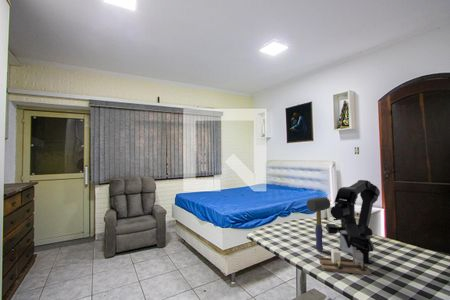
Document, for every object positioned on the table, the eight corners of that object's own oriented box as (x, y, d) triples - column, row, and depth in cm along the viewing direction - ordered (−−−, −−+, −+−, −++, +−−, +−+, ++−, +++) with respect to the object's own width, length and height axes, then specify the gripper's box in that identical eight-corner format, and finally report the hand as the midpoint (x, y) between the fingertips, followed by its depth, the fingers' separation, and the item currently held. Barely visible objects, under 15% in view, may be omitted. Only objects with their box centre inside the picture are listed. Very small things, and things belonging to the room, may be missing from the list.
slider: (331, 260, 108) (331, 248, 108) (337, 260, 108) (337, 248, 108) (335, 267, 102) (335, 254, 102) (342, 268, 101) (342, 255, 101)
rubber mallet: (316, 255, 116) (315, 199, 116) (306, 250, 123) (305, 197, 123) (332, 250, 121) (331, 197, 122) (321, 245, 128) (320, 195, 129)
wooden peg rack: (319, 261, 110) (318, 247, 110) (362, 264, 107) (361, 249, 107) (324, 270, 101) (323, 255, 102) (371, 274, 98) (370, 258, 98)
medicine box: (358, 253, 119) (357, 237, 119) (353, 254, 117) (352, 238, 117) (344, 247, 126) (344, 232, 126) (339, 249, 124) (339, 233, 124)
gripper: (331, 219, 97) (332, 254, 97) (378, 221, 93) (379, 257, 93) (325, 212, 108) (325, 243, 108) (366, 213, 104) (367, 246, 104)
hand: (348, 247), depth 103 cm, fingers closed
